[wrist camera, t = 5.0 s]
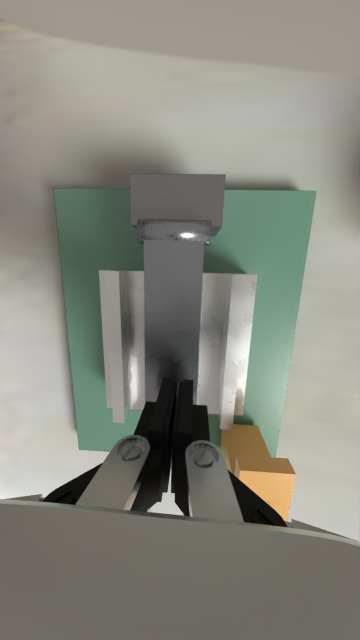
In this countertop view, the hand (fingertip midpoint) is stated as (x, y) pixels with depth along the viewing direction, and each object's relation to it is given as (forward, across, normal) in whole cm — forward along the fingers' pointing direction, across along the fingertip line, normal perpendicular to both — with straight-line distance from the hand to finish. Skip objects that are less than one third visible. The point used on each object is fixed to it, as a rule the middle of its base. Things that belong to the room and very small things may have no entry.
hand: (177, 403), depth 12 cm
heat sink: (+6, +1, -4) cm, 7 cm away
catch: (+6, -5, +6) cm, 10 cm away
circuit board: (+7, +1, -1) cm, 8 cm away
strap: (+2, +1, -2) cm, 3 cm away
